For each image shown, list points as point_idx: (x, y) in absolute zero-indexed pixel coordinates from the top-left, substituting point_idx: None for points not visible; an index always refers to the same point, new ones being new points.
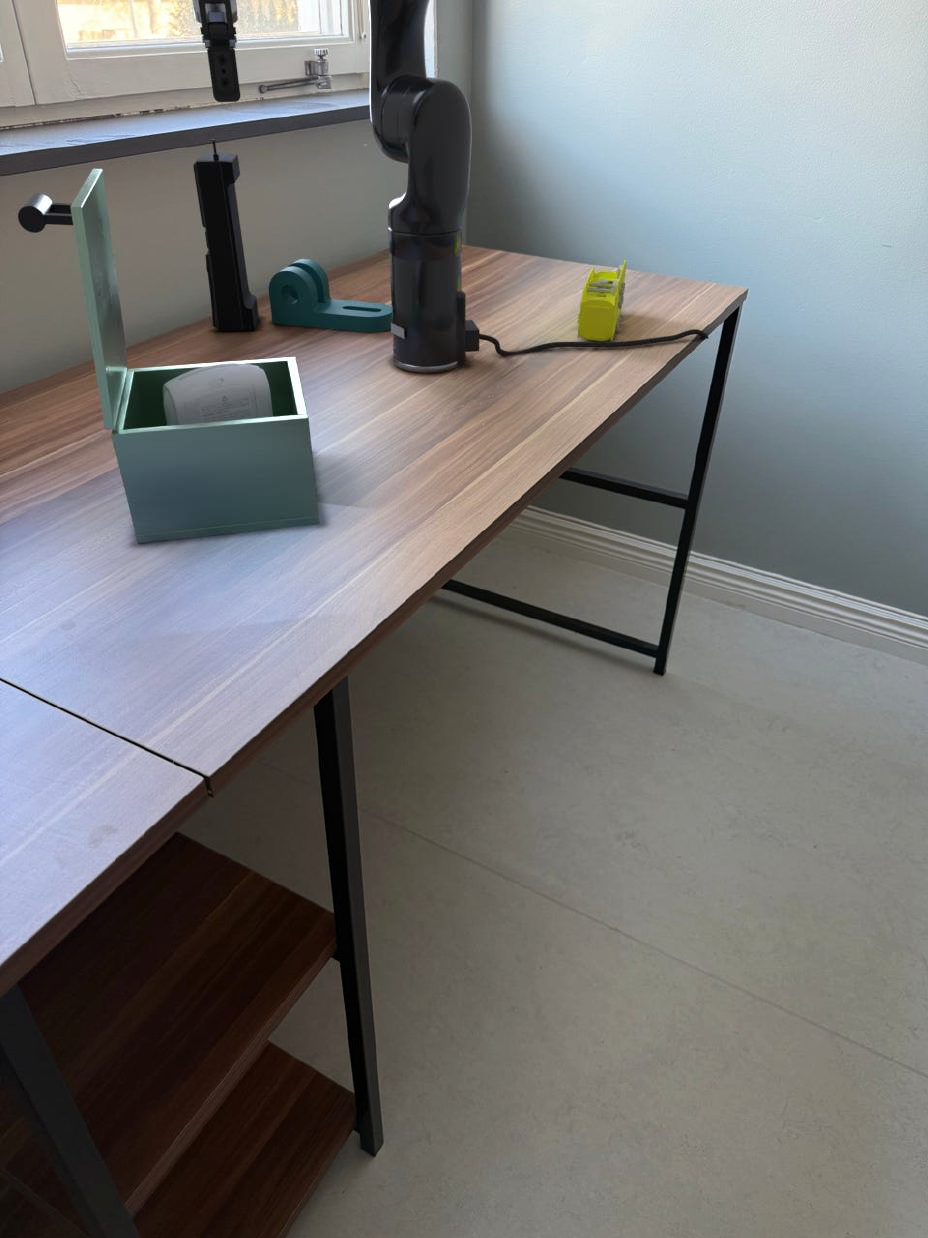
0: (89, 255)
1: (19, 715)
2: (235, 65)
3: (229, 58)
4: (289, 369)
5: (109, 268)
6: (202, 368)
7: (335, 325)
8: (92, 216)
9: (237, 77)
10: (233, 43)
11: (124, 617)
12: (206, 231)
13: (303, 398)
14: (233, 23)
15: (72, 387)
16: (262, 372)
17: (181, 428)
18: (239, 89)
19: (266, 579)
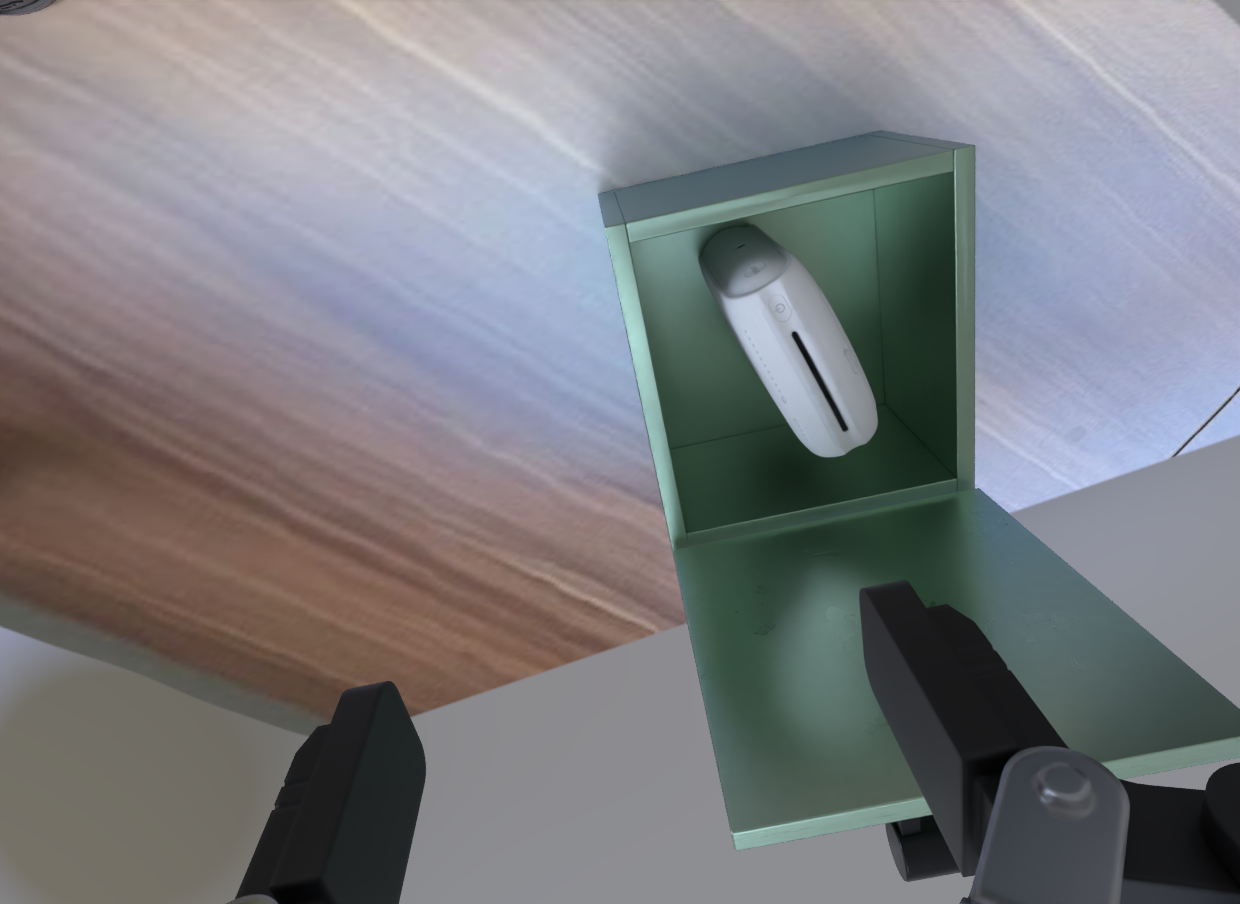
0: (1172, 659)
1: (1232, 429)
2: (972, 685)
3: (1052, 728)
4: (687, 229)
5: (814, 655)
6: (820, 398)
7: None
8: (1060, 724)
9: (944, 640)
10: (1092, 770)
11: (1077, 374)
12: None
13: (867, 170)
14: (975, 896)
15: (333, 658)
16: (788, 278)
17: (973, 386)
18: (921, 601)
19: (1033, 198)
